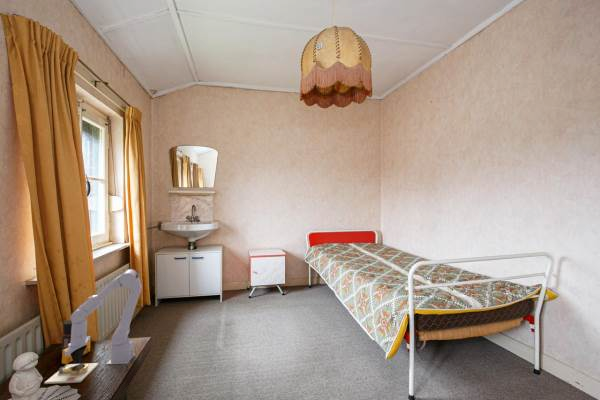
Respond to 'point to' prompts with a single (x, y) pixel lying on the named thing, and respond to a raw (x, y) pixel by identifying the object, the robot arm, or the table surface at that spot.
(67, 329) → the deodorant
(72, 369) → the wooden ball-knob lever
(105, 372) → the table surface
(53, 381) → the board
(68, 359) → the pipe clamp
